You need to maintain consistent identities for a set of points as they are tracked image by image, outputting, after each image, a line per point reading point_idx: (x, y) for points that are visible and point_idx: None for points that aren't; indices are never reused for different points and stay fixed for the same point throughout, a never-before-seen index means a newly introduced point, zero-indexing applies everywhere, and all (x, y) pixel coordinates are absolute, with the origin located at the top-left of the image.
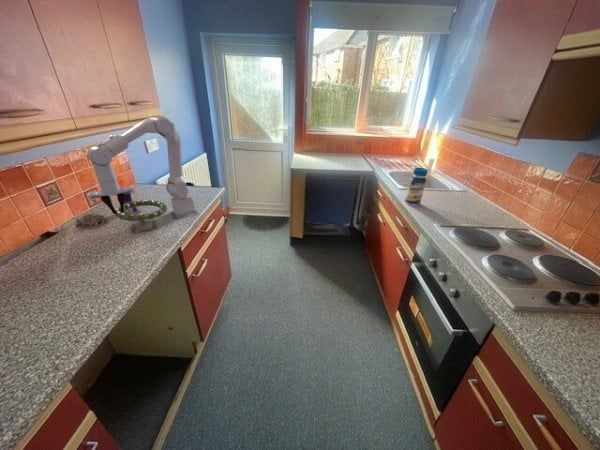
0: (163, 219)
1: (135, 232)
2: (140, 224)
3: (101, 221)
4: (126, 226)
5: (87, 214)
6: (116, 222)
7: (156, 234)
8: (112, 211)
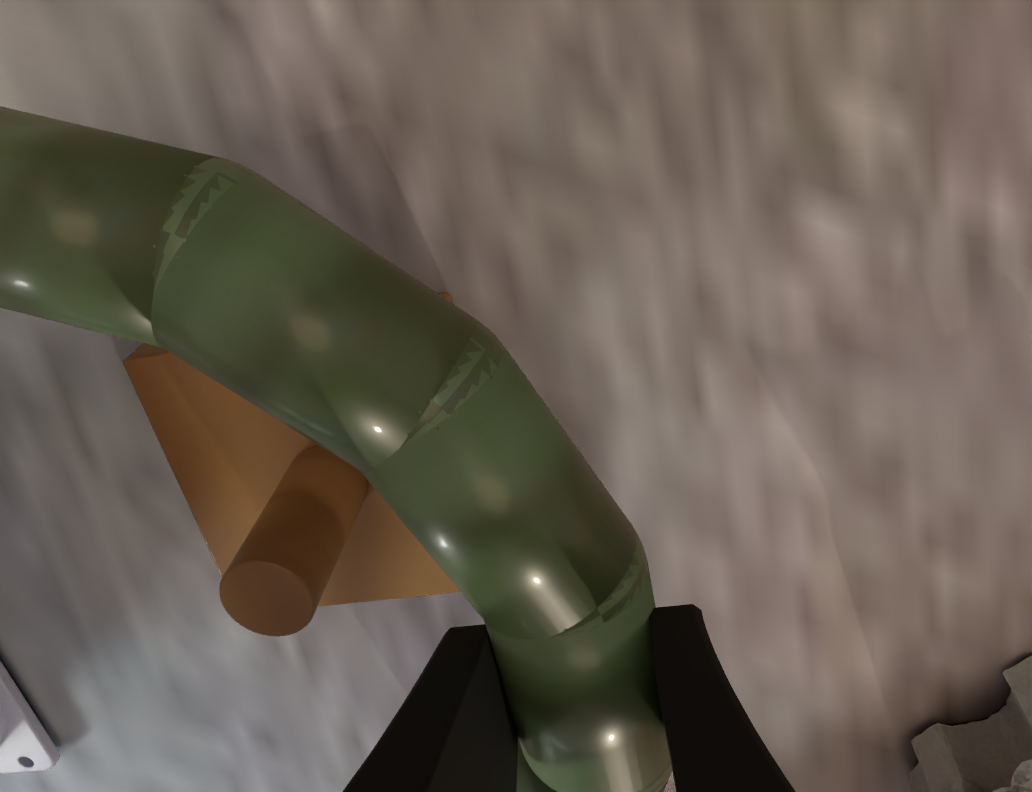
0: (118, 599)
1: None
2: (354, 478)
3: (970, 762)
4: None
5: None
6: (766, 715)
7: (41, 109)
8: (703, 651)
